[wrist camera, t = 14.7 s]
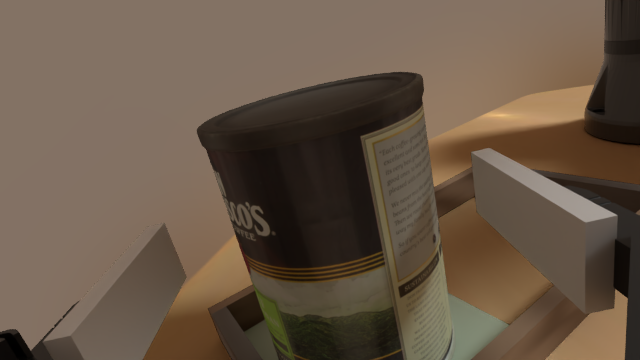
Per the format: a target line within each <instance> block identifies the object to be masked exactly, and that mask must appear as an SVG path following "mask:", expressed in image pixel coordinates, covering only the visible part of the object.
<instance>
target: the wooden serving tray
mask: <svg viewBox="0 0 640 360" xmlns="http://www.w3.org/2000/svg"><path fill="white" fill-rule="evenodd" d="M531 170H532V171H534V172H536V173H538V174H540V175H542V176H544V177H546V178H548V179H550V180H551V181H553V182H555V183H557V184H559V185H561V186H563V187H565V186H574V187H578V188H583V189H587V190H589V191H591V192H593V193H595V194H597V195H599V196H600V197H601V198H602V197H603V198H605V199H607V200H610V201H611V203H616V204H618V205H620V206H622V207H624V208H626V209H628V210H630V211H632V212H634V213H636V214H638V215H640V185H638V184H631V183H624V182H617V181H610V180H603V179H596V178H589V177H582V176H575V175H568V174H562V173H555V172H548V171H541V170H534V169H531ZM434 193H435V200H436V208H437V215H438V218H439V217H440V216H442V215H444V214H445V213H447V212H449V211H451V210H452V209H454V208H456V207H457V206H459V205H461V204H462V203H464V202H466V201H467V200H469V199H471V198H472V197H474V196H475V189H474V179H473V170H472V167H471V168H469V169H467V170H465V171H463V172H462V173H460V174H458V175H456V176H454V177H452V178H450V179H448V180H447V181H445V182H443V183H441V184H439V185H437V186H435V187H434ZM208 310H209V312H210V315H211V317H212V320H213V322H214V325H215V327H216V330H217V332H218V335H219V337H220V339H221V341H222V343H223V345H224V346H225V348H226V350H227V352H228V353H229V355H230V357H231V359H232V360H263V359H262V358H261V357H260V355H259V354H258V352H257V351H256V349H255V348H254V346H253V345H252V343H251V342H250V340H249V339H248V337H247V336H246V335H245V333H244V332H245V331H246V330H248V329H250V328H252V327H253V326H255V325H257V324H258V323H260V322H262V321H263V320H265V318H264V315H263V312H262V309H261V307H260V304H259V301H258V298H257V295H256V292H255V289H254V286H253V285H251V286H249V287H247V288H245V289H243V290H242V291H240V292H238V293H236V294H234V295H232V296H230V297H229V298H227V299H225V300H223V301H221V302H219V303H217V304H216V305H214V306H212V307H210V308H208ZM589 314H590V313H588V314H584V313H583V312H582V311H581V310H580V309H579V308H578V307H577V306H576V305H575V304H574V303H573V302H572V301H571V300H569V299H568V298H567V297H566V296H565V295H564V294H563V293H562V292H561V291H560V290H559V289H558V288H557V287H556V286H555V285H554V286H553V287H552V288H551V289H550V290H549V291H547V292H546V293H545V294H544V295H543V296H542V297H541V298H540V299H538V300H537V301H536V302H535V303H534V304H533V305H532V306H531V307H529V308H528V309H527V310H526V311H525V312H524V313H523V314H522V315H520V316H519V317H518V318H517V319H516V320H515V321H514V322H513V323H511V324H510V325H509V326H508V327H507V328H506V329H505V330H504V331H502V332H501V333H500V334H499V335H498V336H497V337H496V338H494V339H493V340H492V341H491V342H490V343H489V344H488V345H487V346H485V347H484V348H483V349H482V350H481V351H480V352H479V353H478V354H476V355H475V356H474V357H473V358H472V359H471V360H545V359H546V358H547V357H548V356H549V355H550V354H551V353H552V352H553V351H554V350H555V348H556V347H557V346H558V345H559V344H560V343H561V342H562V341H563V340H564V339H565V338H566V337H567V336H568V335H569V334H570V333H571V332H572V331H573V330H574V329H575V328H576V327H577V326H578V325H579V324H580V323H581V322H582V321H583V320H584V319H585V318H586V317H587V316H588V315H589Z"/></svg>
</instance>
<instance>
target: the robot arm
mask: <svg viewBox="0 0 640 360" xmlns="http://www.w3.org/2000/svg"><path fill="white" fill-rule="evenodd" d="M604 43H605V44H604V46H605V47H604V61H603V65H602V67H601V70H600V73H599V75H598V77H597V80H596V83H595V85H594V88H593V90H592V93H591V95H590V98H589V101H588V103H587V106H586V108H585V130H586V131H587V132H588V133H590V134H591V135H593V136H596V137H599V138H603V139H607V140H612V141H618V142H625V143H636V144H640V0H605V42H604ZM471 160H472V170H473V179H474V189H475V199H476V209H477V213H478V214H479V215H480V216H482V217H483V218H484V219H485V220H486V221H487V222H488V223H489V224H490V225H491V226H492V227H493V228H494V229H495V230H496V231H497V232H498V233H500V234H501V235H502V236H503V237H504V238H505V239H506V240H507V241H508V242H509V243H510V244H511V245H512V246H513V247H514V248H515V249H517V250H518V251H519V252H520V253H521V254H522V255H523V256H524V257H525V258H526V259H527V260H528V261H529V262H530V263H531V264H532V265H533V266H535V267H536V268H537V269H538V270H539V271H540V272H541V273H542V274H543V275H544V276H545V277H546V278H547V279H548V280H549V281H550V282H551V283H553V284H554V285H555V286H556V287H557V288H558V289H559V290H560V291H561V292H562V293H563V294H564V295H565V296H566V297H567V298H568V299H569V300H571V301H572V302H573V303H574V304H575V305H576V306H577V307H578V308H579V309H580V310H581V311H582V312H583V313H584V314H588V313H593V312H598V311H603V310H608V309H612V308H614V300H615V289H616V290H618V291H619V292H620V293H622V294H623V295H624V296H626V297H627V298H628V307H627V326H626V348H625V360H640V215H638V214H636V213H634V212H632V211H630V210H628V209H626V208H624V207H622V206H620V205H618V204H616V203H611V201H610V200H607V199H605V198H603V197H602V198H601V197H600V196H599V195H597V194H595V193H593V192H591V191H589V190H587V189H583V188H578V187H574V186H565V187H563V186H561V185H559V184H557V183H555V182H553V181H551V180H550V179H548V178H546V177H544V176H542V175H540V174H538V173H536V172H534V171H532V170H531V169H529V168H527V167H525V166H523V165H521V164H519V163H517V162H515V161H513V160H512V159H510V158H508V157H506V156H504V155H502V154H500V153H498V152H496V151H494V150H493V149H491V148H486V149H482V150H478V151H473V152H471ZM185 279H186V274H185V272H184V269H183V267H182V265H181V262H180V260H179V257H178V255H177V252H176V250H175V247H174V245H173V243H172V240H171V238H170V235H169V233H168V230H167V228H166V226H165V223H161V224H157V225H153V226H148V227H147V228H146V229H145V230H144V231H143V232H142V233H141V234H140V235H139V236H138V237H137V238H136V240H135V241H134V242H133V243H132V244H131V245H130V246H129V247H128V248H127V249H126V251H125V252H124V253H123V254H122V255H121V256H120V257H119V259H117V261H116V262H115V263H114V264H113V265H112V266H111V267H110V268H109V269H108V270H107V271H106V273H105V274H104V275H103V276H102V277H101V278H100V279H99V280H98V281H97V282H96V284H95V285H94V286H93V287H92V288H91V289H90V290H89V291H88V292H87V293H86V294H85V296H84V297H83V298H82V299H81V300H80V301H78V302H77V303H76V304H74V305H73V306H72V307H71V308H70V309H69V310H68V311H67V313H66V314H65V315H64V316H63V318H62V319H60V320H59V321H58V322H57V323H56V324H55V327H54V328H52V329H51V330H50V331H49V332H48V333H47V334H46V335H45V336H44V338H43V339H42V340H41V341H40V342H39V343H38V344H37V345H36V346H35V347H34V348H33V349H32V351H30V349H29V348H28V346H27V345H26V343H25V341H24V340H23V338H22V337H21V335H20V333H19V332H18V331H17V330H16V329H15V330H14V329H12V330H11V329H10V330H6V331H2V332H0V360H143V358H144V356H145V354H146V352H147V350H148V349H149V347H150V345H151V343H152V341H153V339H154V337H155V335H156V334H157V332H158V330H159V328H160V326H161V324H162V322H163V320H164V319H165V317H166V315H167V313H168V311H169V309H170V307H171V305H172V304H173V302H174V300H175V298H176V296H177V294H178V292H179V290H180V289H181V286H182V285H183V283H184V281H185Z"/></svg>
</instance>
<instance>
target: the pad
mask: <svg viewBox="0 0 640 360" xmlns="http://www.w3.org/2000/svg"><path fill="white" fill-rule="evenodd" d="M448 298H449V305H450V313H451V318H452V322H453V326H454V330H455V338H456V342H455V350H454V354H453V357H452V360H471V359H472V358H473V357H474V356H475V355H476V354H478V353H479V352H480V351H481V350H482V349H483V348H484V347H485V346H487V345H488V344H489V343H490V342H491V341H492V340H493V339H494V338H496V337H497V336H498V335H499V334H500V333H501V332H502V331H504V330H505V329H506V328H507V327H508V326H509V324H507V323H505V322H503V321H501V320H499V319H497V318H495V317H493V316H491V315H490V314H488V313H486V312H484V311H482V310H480V309H478V308H476V307H474V306H472V305H470V304H468V303H467V302H465V301H463V300H461V299H459V298H457V297H455V296H453V295H451V294H449V293H448ZM244 333H245V335H246V336H247V337H248V339H249V340H250V342H251V343H252V345H253V346H254V348H255V349H256V351H257V352H258V354H259V355H260V357H261V358H262V359H263V360H279V359H278V356H277V353H276V350H275V348H274V345H273V341H272V338H271V335H270V332H269V329H268V326H267V324H266V321H265V320H263V321H262V322H260V323H258V324H257V325H255V326H253V327H252V328H250V329H248V330H246V331H245V332H244Z"/></svg>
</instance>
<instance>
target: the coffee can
mask: <svg viewBox="0 0 640 360" xmlns="http://www.w3.org/2000/svg"><path fill="white" fill-rule="evenodd" d="M423 92H424V87H423V78H422V76H421V75H420V74H417V73H409V72H392V73H382V74H374V75H368V76H360V77H355V78H349V79H344V80H338V81H334V82H328V83H324V84H319V85H316V86H311V87H307V88H302V89H298V90H295V91H291V92H287V93H283V94H279V95H277V96H272V97H269V98H265V99H262V100H259V101H256V102H253V103H250V104H247V105H244V106H241V107H239V108H236V109H233V110H229V111H227V112H225V113H222V114H220V115H218V116H215V117H213V118H211V119H209V120H208V121H206V122H204V123H203V124H202V125H201V126H199V127H198V129H197V134H198V137H199V139H200V142H201V144H202V146H203V147H204V148H205V149H206V150H207V153H208V156H209V159H210V163H211V165H212V167H213V170H214V173H215V176H216V179H217V182H218V185H219V188H220V191H221V193H222V196H223V199H224V202H225V205H226V207H227V211H228V214H229V216H230V219H231V222H232V225H233V228H234V231H235V234H236V237H237V240H238V243H239V246H240V249H241V252H242V255H243V257H244V261H245V263H246V266H247V268H248V271H249V275H250V278H251V281H252V283H253V286H254V289H255V292H256V295H257V298H258V301H259V304H260V307H261V309H262V312H263V315H264V318H265V321H266V324H267V326H268V329H269V332H270V335H271V338H272V341H273V345H274V348H275V350H276V353H277V356H278V359H279V360H452V357H453V354H454V350H455V342H456V338H455V330H454V326H453V322H452V318H451V313H450V305H449V298H448V290H447V282H446V275H445V268H444V260H443V253H442V245H441V237H440V230H439V223H438V215H437V208H436V200H435V193H434V185H433V178H432V170H431V161H430V154H429V147H428V140H427V132H426V125H425V117H424V109H423V102H422V95H423Z"/></svg>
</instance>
